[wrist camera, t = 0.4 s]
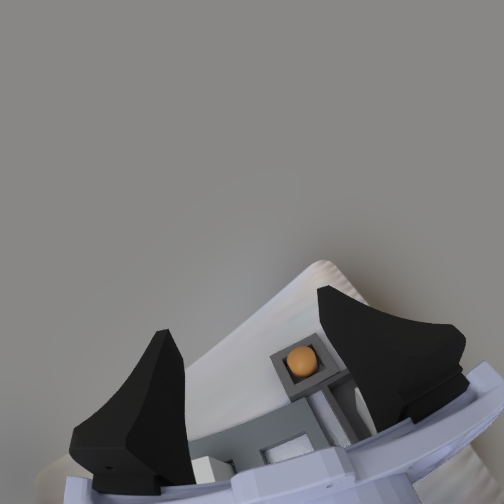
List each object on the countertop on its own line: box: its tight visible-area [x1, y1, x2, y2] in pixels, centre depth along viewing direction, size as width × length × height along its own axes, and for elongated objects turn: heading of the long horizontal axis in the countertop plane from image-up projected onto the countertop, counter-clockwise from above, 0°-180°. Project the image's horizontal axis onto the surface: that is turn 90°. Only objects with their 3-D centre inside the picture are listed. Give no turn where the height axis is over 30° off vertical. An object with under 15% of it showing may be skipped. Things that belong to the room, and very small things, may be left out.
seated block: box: [191, 456, 236, 484], centre depth 20 cm, size 4×4×6 cm
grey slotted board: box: [188, 397, 331, 474], centre depth 22 cm, size 12×16×1 cm
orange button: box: [287, 346, 318, 378], centre depth 29 cm, size 3×3×2 cm
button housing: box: [270, 333, 340, 403], centre depth 30 cm, size 6×6×2 cm
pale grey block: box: [355, 387, 377, 436], centre depth 21 cm, size 4×4×6 cm
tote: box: [319, 368, 372, 445], centre depth 22 cm, size 12×8×2 cm
